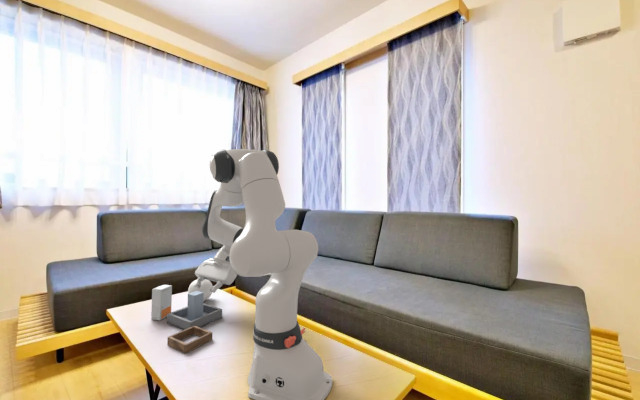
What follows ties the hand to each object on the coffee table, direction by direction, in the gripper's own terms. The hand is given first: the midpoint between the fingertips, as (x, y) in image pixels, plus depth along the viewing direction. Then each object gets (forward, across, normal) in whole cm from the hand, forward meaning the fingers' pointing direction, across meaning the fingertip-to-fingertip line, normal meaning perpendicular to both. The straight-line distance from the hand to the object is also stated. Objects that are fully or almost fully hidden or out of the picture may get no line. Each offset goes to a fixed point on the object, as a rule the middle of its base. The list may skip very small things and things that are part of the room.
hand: (204, 289), depth 108 cm
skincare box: (+14, -14, +2) cm, 20 cm away
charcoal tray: (+10, 0, +5) cm, 12 cm away
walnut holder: (+18, +13, -3) cm, 23 cm away
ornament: (+1, -16, +15) cm, 22 cm away
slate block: (+10, 0, +5) cm, 11 cm away
